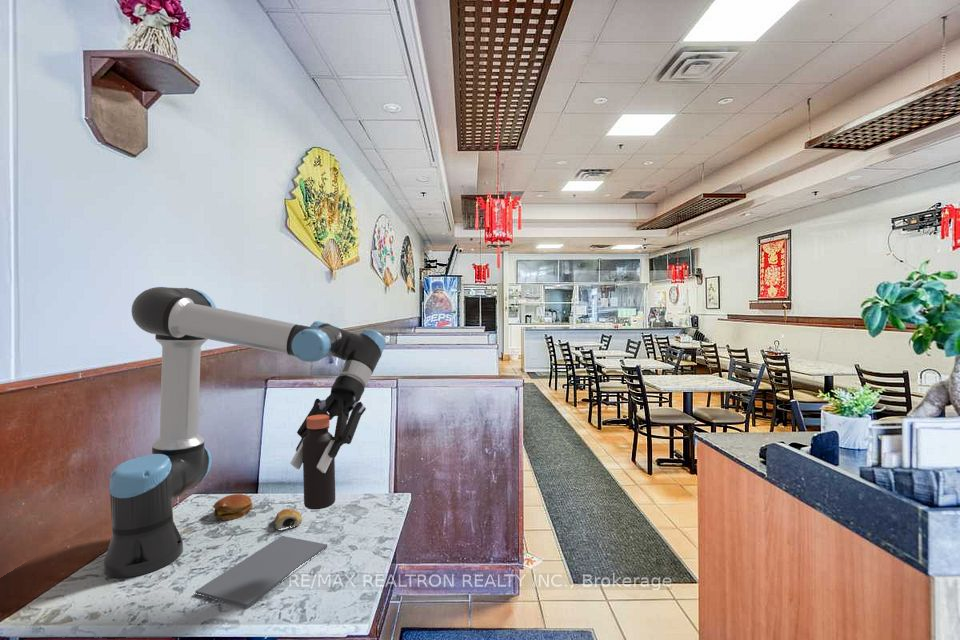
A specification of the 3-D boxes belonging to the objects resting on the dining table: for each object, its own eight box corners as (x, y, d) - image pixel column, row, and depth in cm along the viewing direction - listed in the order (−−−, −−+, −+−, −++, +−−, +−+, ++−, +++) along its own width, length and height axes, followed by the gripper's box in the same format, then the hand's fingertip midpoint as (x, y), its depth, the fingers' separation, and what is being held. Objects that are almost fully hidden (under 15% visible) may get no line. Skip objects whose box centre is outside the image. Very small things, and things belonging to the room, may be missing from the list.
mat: (195, 594, 96) (195, 590, 96) (282, 538, 119) (281, 535, 119) (247, 608, 91) (247, 604, 91) (327, 547, 114) (327, 544, 114)
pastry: (273, 519, 130) (272, 505, 130) (298, 513, 134) (298, 500, 133) (275, 533, 122) (275, 518, 122) (303, 527, 125) (302, 513, 125)
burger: (254, 504, 140) (254, 489, 140) (249, 518, 131) (248, 501, 131) (218, 509, 137) (217, 494, 137) (209, 523, 128) (208, 507, 128)
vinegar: (299, 510, 103) (297, 420, 102) (310, 497, 110) (308, 413, 109) (330, 510, 103) (328, 420, 102) (339, 497, 110) (337, 413, 109)
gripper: (390, 393, 116) (352, 481, 102) (326, 389, 123) (282, 471, 108) (378, 375, 111) (336, 465, 97) (312, 372, 118) (263, 455, 103)
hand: (307, 468), depth 103 cm, fingers closed on vinegar, 6 cm apart
